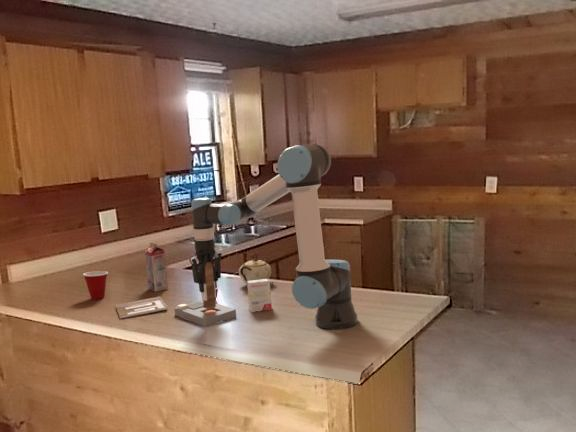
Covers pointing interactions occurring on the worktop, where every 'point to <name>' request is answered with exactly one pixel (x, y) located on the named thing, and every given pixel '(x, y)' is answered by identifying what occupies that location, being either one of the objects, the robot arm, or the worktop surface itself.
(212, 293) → the walnut rod
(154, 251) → the juice carton
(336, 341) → the worktop surface
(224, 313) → the grey flat block
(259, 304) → the ink box
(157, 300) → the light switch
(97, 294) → the plastic cup
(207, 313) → the orange ball button
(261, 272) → the sugar bowl
